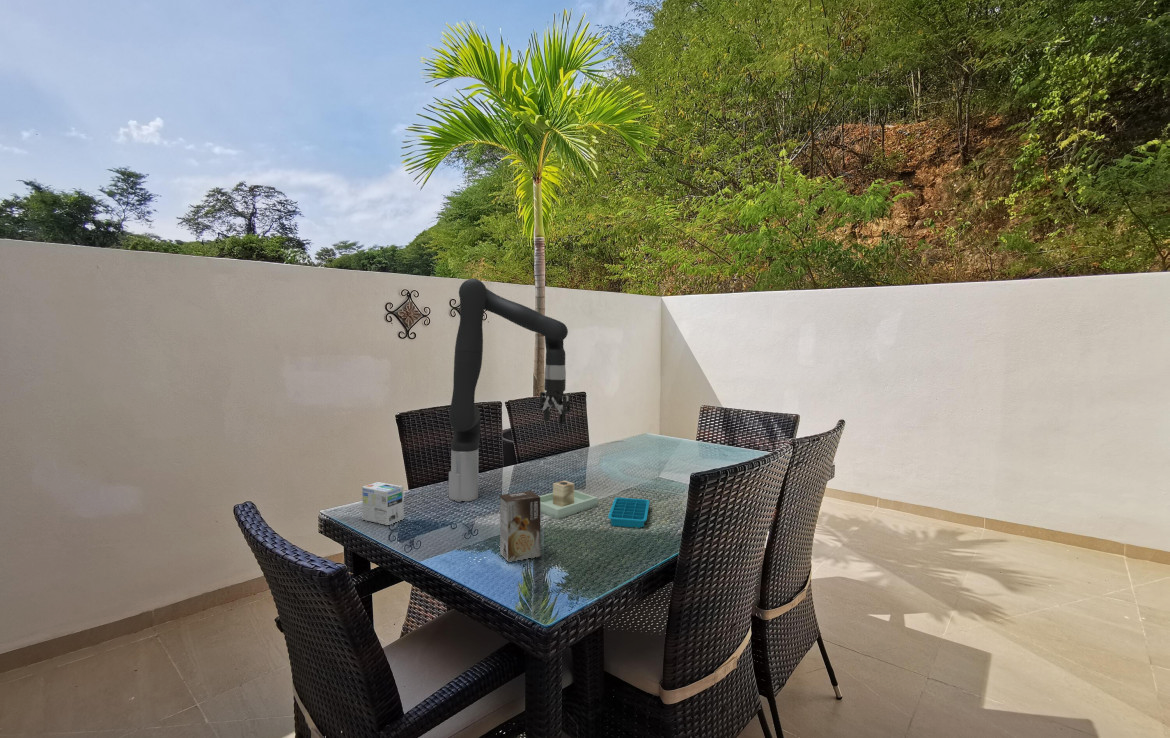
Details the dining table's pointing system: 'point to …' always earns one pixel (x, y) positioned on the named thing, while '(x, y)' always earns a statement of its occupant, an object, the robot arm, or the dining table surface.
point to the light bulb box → (383, 503)
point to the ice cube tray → (629, 512)
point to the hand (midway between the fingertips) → (554, 422)
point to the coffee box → (520, 526)
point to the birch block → (563, 493)
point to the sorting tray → (580, 504)
